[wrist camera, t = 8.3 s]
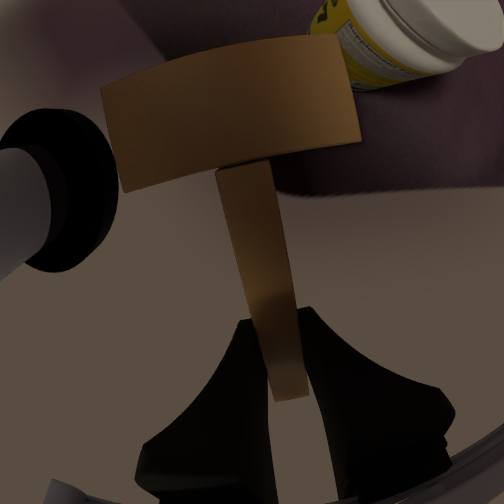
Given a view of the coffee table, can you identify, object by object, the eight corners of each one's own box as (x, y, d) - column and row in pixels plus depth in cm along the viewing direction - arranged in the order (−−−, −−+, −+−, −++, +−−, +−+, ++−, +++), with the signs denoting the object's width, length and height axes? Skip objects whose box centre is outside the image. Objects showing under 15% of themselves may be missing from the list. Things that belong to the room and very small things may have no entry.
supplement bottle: (339, -4, 9) (418, -90, 1) (407, 56, 10) (526, 24, 2) (283, 47, 10) (338, -54, 3) (359, 111, 12) (489, 101, 4)
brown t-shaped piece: (215, 363, 15) (211, 411, 12) (133, 98, 10) (95, 86, 7) (351, 336, 14) (372, 379, 11) (313, 58, 9) (339, 30, 6)
